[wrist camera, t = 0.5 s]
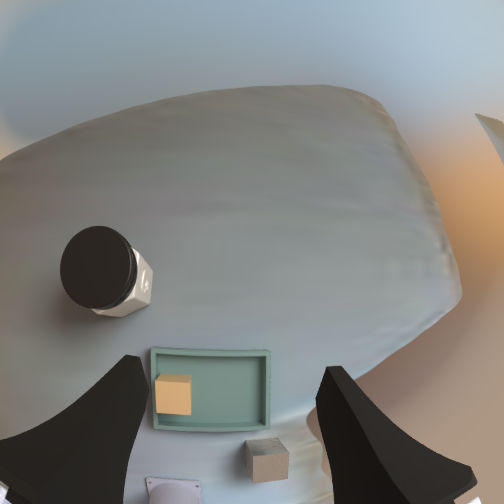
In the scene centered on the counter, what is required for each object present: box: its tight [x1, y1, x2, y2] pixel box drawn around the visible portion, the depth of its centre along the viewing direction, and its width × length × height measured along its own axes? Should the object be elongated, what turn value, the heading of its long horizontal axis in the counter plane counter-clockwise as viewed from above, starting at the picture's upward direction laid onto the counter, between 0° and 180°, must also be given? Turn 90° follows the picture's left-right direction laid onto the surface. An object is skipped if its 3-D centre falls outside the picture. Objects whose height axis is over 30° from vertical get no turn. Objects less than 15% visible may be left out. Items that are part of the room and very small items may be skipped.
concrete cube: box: [246, 438, 289, 483], centre depth 28 cm, size 5×5×6 cm
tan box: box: [155, 373, 192, 415], centre depth 29 cm, size 4×4×5 cm
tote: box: [151, 347, 271, 432], centre depth 31 cm, size 11×15×2 cm
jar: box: [60, 226, 153, 317], centre depth 28 cm, size 9×8×12 cm
